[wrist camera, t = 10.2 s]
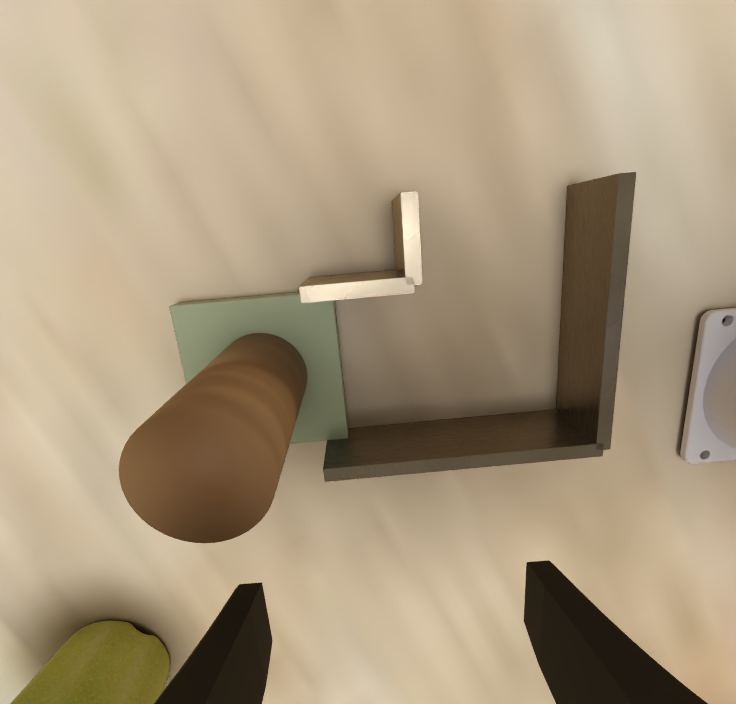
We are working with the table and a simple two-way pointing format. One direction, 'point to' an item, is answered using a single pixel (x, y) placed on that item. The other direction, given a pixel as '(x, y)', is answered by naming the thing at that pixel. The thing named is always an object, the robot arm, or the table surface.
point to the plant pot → (102, 668)
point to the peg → (217, 443)
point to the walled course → (576, 351)
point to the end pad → (281, 318)
